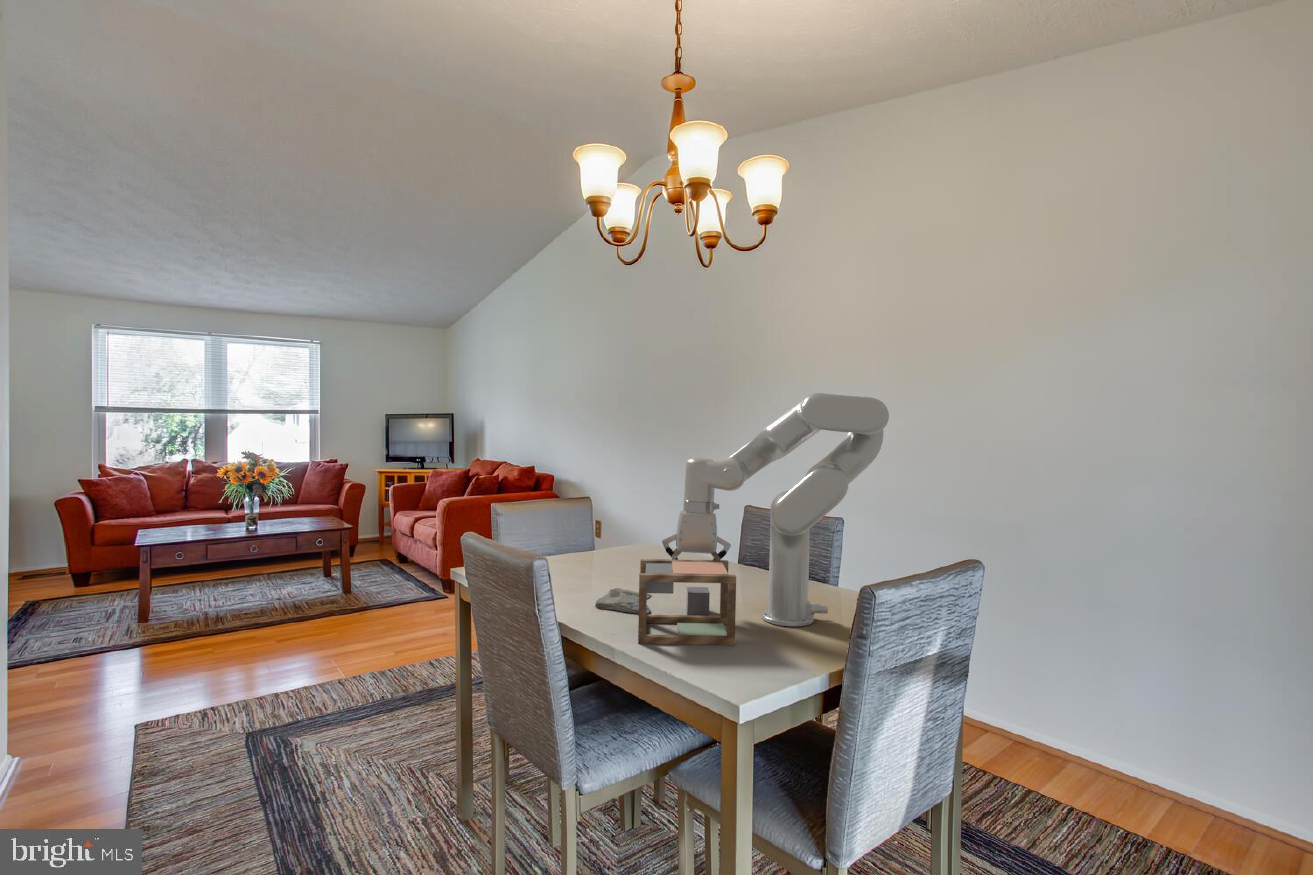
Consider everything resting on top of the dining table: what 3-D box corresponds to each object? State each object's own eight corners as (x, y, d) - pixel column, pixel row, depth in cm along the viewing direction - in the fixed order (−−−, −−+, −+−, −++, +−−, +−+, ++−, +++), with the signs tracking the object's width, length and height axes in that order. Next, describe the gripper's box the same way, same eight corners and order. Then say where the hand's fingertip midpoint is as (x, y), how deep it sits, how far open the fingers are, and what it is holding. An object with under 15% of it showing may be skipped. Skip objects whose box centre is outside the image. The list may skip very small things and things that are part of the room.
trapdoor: (645, 593, 142) (645, 572, 142) (645, 579, 154) (645, 560, 154) (727, 594, 142) (728, 574, 142) (721, 580, 154) (722, 562, 154)
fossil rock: (610, 594, 182) (610, 586, 181) (662, 598, 178) (662, 590, 178) (590, 612, 164) (590, 602, 164) (648, 617, 161) (648, 607, 161)
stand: (638, 643, 140) (639, 574, 140) (639, 620, 156) (640, 558, 156) (734, 645, 141) (736, 576, 140) (726, 622, 157) (727, 560, 156)
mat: (723, 625, 154) (723, 623, 154) (728, 641, 143) (728, 639, 143) (677, 624, 154) (677, 622, 154) (679, 640, 143) (679, 638, 143)
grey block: (707, 610, 166) (707, 587, 166) (709, 616, 161) (709, 592, 161) (686, 610, 166) (686, 586, 166) (687, 616, 161) (687, 592, 161)
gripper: (730, 507, 167) (727, 573, 167) (663, 503, 167) (660, 569, 167) (734, 511, 159) (730, 580, 160) (664, 507, 159) (660, 576, 160)
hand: (694, 574), depth 163 cm, fingers open, 9 cm apart
